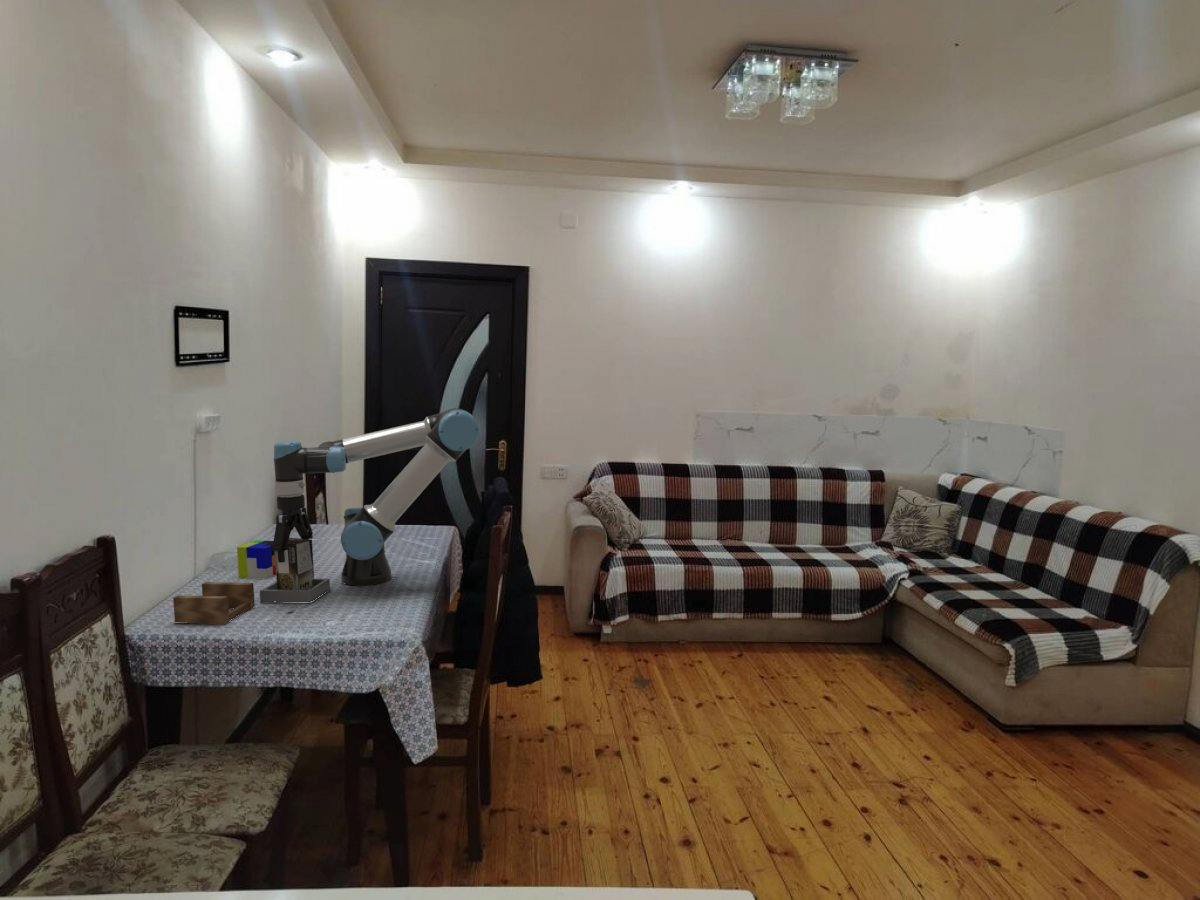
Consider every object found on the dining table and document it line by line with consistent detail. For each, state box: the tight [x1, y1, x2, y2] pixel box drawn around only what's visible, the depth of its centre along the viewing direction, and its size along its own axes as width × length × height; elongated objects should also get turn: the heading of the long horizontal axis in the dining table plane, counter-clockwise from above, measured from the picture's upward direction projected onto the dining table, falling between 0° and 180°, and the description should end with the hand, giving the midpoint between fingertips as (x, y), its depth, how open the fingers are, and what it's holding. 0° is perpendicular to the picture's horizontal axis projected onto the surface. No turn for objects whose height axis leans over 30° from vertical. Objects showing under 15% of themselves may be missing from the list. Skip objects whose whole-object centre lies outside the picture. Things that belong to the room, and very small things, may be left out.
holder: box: [172, 581, 256, 625], centre depth 220 cm, size 14×15×7 cm
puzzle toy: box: [236, 539, 276, 580], centre depth 263 cm, size 10×10×10 cm
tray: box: [259, 578, 331, 603], centre depth 237 cm, size 15×13×4 cm
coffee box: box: [275, 537, 315, 590], centre depth 237 cm, size 9×6×16 cm
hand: (295, 566), depth 236 cm, fingers open, 13 cm apart
